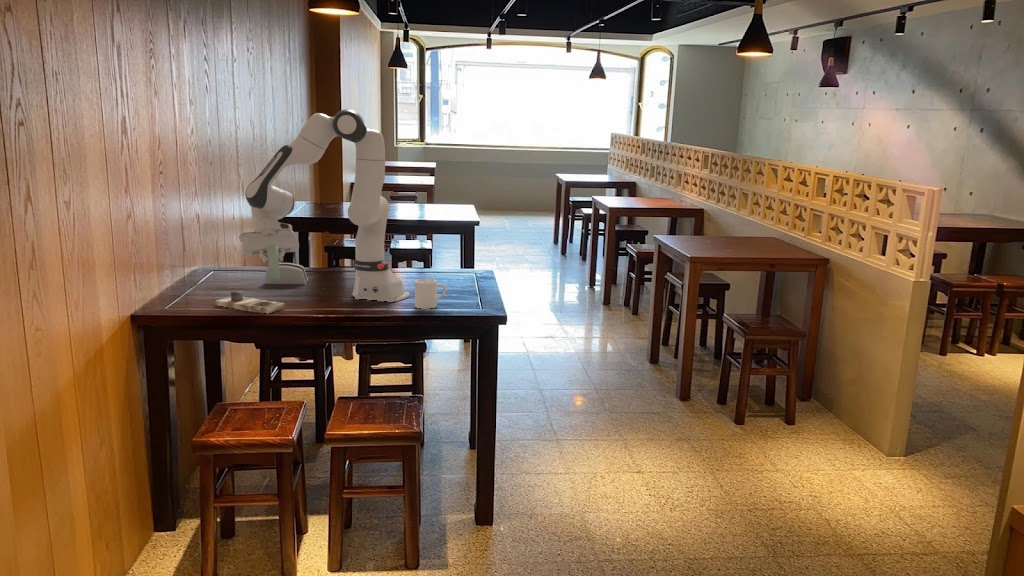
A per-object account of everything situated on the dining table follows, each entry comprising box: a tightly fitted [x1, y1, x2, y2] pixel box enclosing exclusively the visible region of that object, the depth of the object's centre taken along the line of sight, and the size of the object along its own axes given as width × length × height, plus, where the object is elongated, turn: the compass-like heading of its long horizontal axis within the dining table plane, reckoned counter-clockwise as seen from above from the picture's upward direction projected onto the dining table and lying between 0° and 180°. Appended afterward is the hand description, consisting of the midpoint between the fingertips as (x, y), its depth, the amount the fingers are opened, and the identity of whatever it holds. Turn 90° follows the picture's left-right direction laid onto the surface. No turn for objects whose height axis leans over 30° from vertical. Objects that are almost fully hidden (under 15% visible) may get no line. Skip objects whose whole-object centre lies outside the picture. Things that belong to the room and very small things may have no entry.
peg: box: [266, 245, 280, 279], centre depth 271 cm, size 4×4×12 cm
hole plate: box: [214, 290, 286, 315], centre depth 267 cm, size 24×9×5 cm, turn 67°
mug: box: [414, 278, 448, 310], centre depth 273 cm, size 8×12×10 cm, turn 86°
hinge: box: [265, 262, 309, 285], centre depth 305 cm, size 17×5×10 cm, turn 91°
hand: (273, 261), depth 271 cm, fingers closed on peg, 4 cm apart
